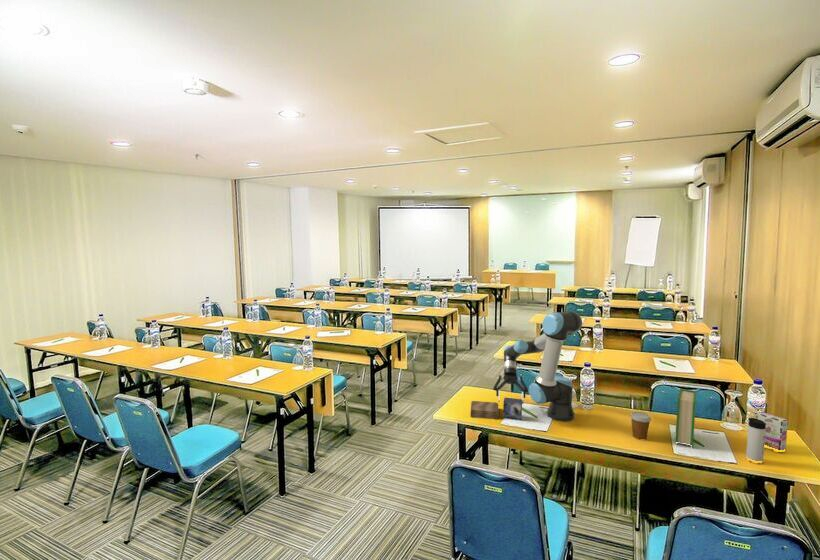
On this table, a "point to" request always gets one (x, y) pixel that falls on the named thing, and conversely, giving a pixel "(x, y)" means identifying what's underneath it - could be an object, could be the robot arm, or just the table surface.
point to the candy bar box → (774, 430)
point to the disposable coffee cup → (640, 424)
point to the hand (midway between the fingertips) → (510, 402)
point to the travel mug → (756, 439)
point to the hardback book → (685, 416)
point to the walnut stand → (484, 409)
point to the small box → (512, 408)
